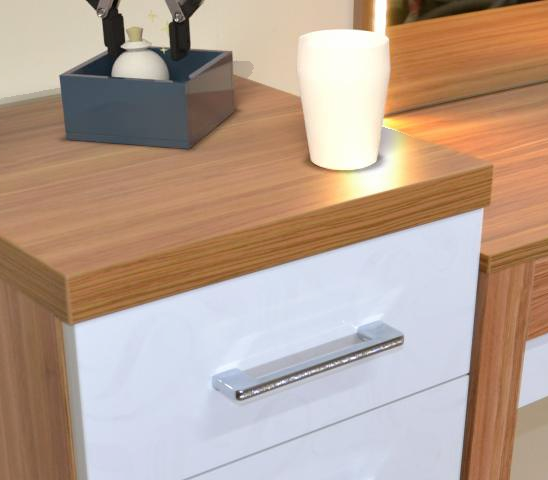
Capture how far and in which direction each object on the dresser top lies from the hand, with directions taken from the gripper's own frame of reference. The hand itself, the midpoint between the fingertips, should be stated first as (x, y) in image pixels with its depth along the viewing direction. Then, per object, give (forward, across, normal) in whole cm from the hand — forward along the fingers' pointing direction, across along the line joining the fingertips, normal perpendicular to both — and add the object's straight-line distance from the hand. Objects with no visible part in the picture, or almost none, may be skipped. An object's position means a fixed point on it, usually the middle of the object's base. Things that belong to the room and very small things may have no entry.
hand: (148, 54), depth 122 cm
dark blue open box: (+8, 0, 0) cm, 8 cm away
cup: (+8, +23, -7) cm, 25 cm away
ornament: (+6, 0, 0) cm, 6 cm away
